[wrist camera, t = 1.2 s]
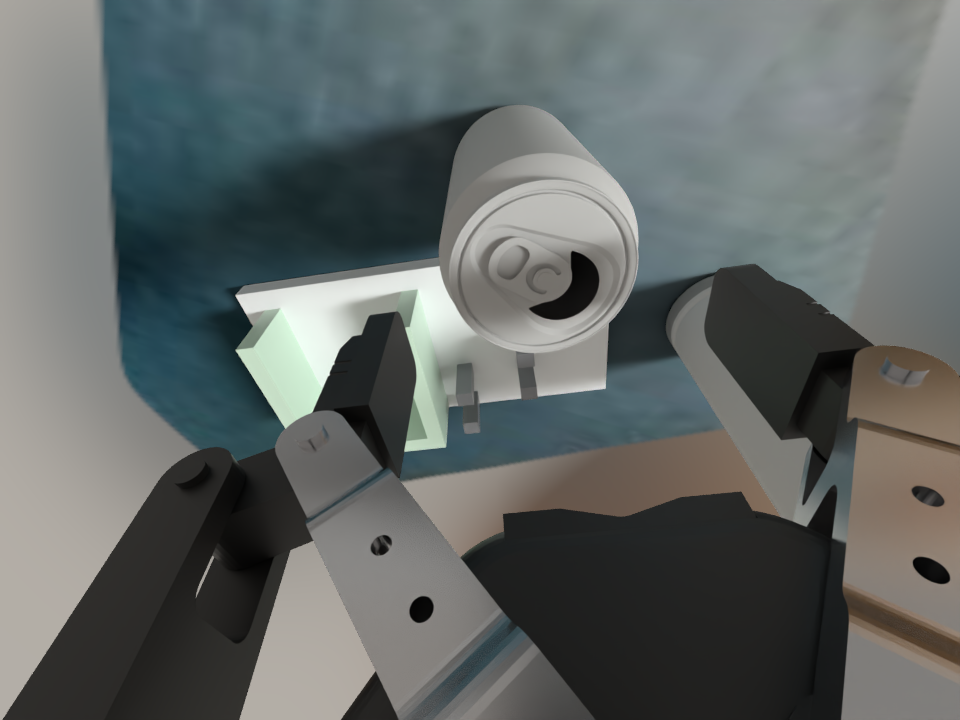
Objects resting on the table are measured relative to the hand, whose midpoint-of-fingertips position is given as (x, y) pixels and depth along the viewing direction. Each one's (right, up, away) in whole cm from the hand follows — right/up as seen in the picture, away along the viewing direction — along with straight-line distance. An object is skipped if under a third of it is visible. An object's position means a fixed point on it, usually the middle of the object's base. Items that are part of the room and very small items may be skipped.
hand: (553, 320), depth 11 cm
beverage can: (0, +9, +11) cm, 14 cm away
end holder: (-10, -1, +17) cm, 20 cm away
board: (-5, +1, +17) cm, 18 cm away
